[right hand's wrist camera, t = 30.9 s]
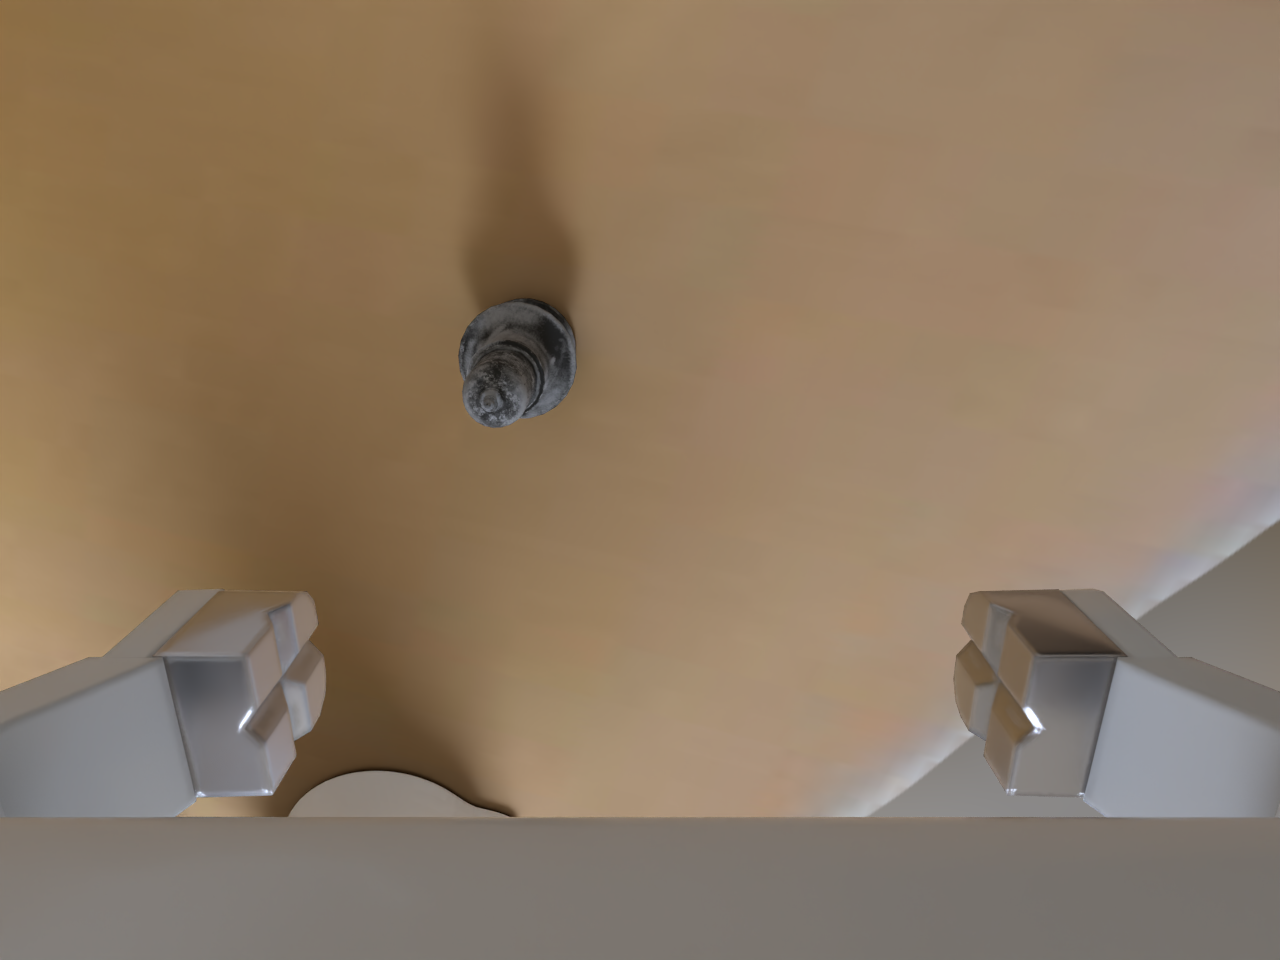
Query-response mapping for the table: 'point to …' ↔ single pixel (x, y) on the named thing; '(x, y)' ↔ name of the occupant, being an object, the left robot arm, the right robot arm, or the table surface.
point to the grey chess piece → (516, 362)
